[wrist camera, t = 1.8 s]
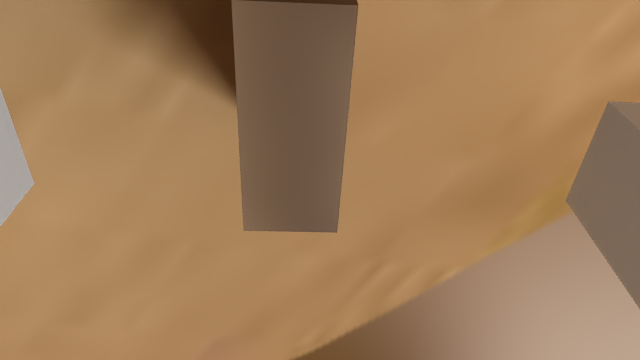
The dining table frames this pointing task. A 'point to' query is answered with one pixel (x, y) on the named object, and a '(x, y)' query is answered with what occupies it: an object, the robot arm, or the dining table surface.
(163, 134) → the dining table surface
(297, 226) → the brown square block
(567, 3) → the dining table surface
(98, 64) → the dining table surface
